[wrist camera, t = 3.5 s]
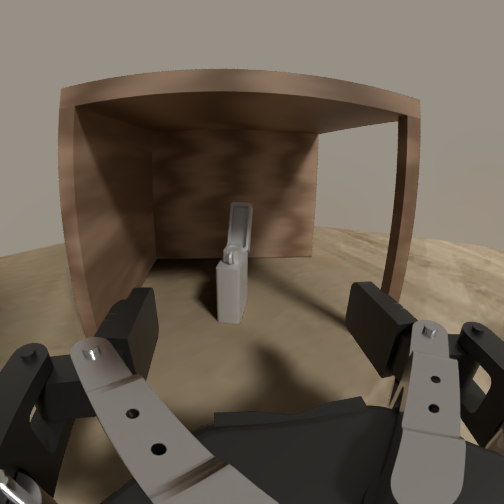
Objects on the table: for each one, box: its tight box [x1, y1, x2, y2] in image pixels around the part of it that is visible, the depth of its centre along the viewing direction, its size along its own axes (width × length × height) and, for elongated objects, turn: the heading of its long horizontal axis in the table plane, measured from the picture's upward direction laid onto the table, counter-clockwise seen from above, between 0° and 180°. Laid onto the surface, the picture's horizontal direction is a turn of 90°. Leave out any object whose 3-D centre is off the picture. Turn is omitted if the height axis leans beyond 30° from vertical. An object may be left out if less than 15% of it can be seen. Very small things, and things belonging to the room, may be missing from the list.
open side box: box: [58, 69, 420, 338], centre depth 24 cm, size 20×20×16 cm
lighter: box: [216, 202, 253, 324], centre depth 23 cm, size 7×2×8 cm, turn 173°
